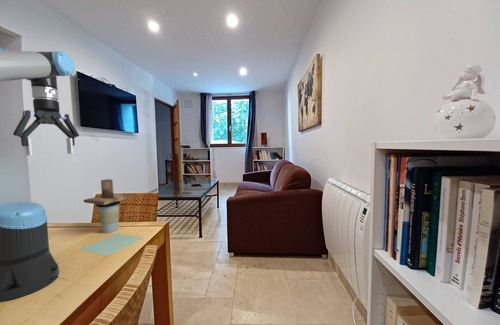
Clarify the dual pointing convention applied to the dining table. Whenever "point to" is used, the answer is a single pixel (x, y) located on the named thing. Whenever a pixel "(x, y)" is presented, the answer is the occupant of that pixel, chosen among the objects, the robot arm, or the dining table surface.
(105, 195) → the walnut cover
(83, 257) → the dining table surface
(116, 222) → the coffee cup
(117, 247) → the rubber mat
